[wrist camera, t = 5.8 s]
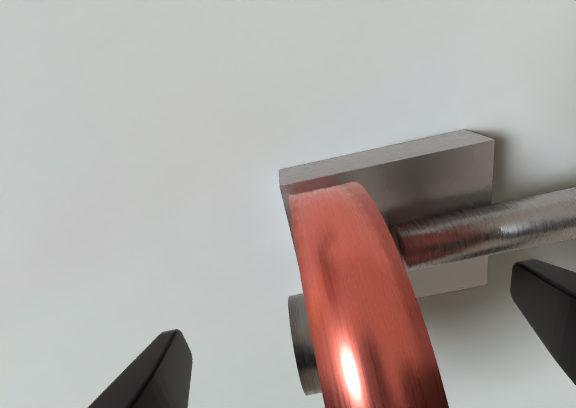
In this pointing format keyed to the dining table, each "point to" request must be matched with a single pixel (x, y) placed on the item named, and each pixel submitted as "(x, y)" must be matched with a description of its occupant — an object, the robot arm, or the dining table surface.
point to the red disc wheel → (397, 259)
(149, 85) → the dining table surface
